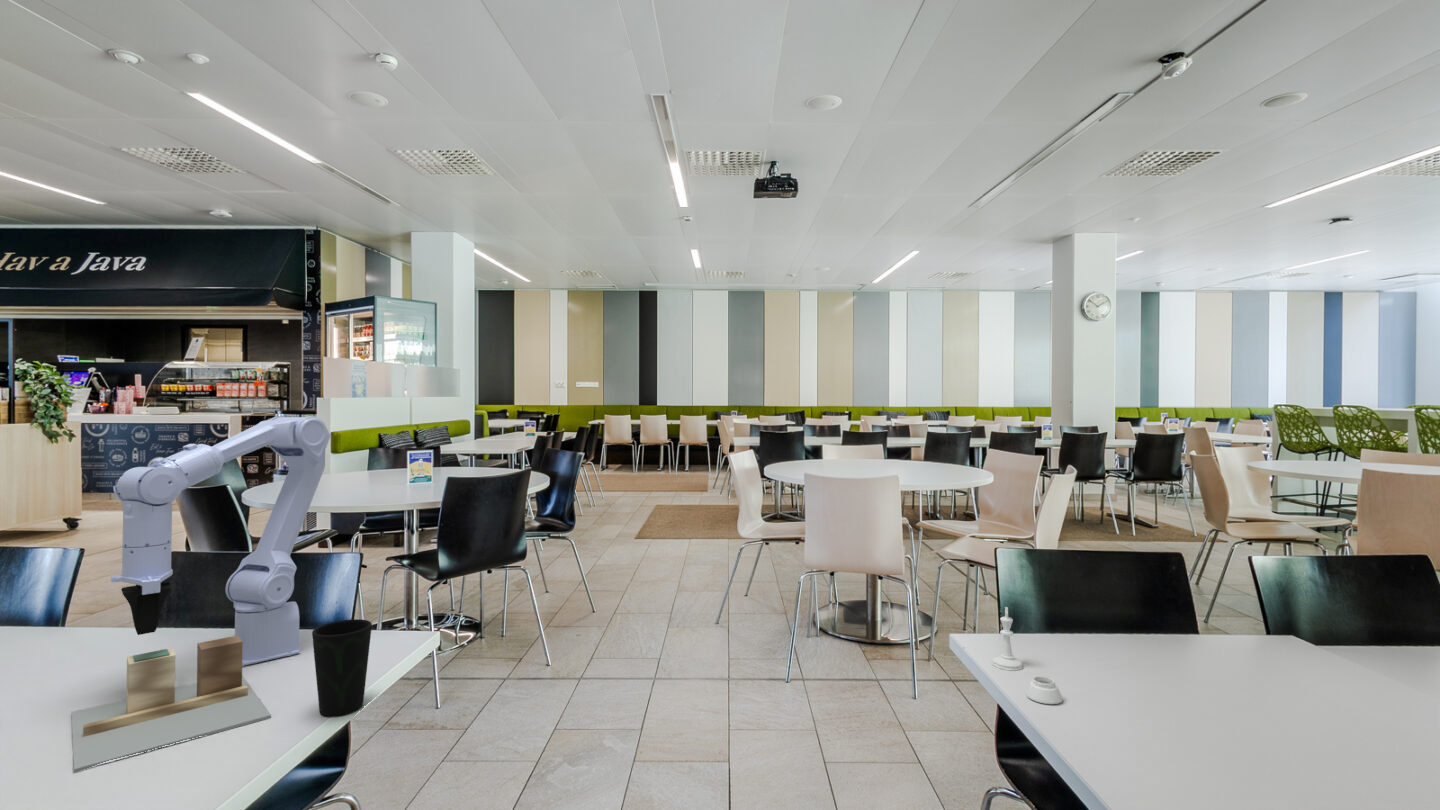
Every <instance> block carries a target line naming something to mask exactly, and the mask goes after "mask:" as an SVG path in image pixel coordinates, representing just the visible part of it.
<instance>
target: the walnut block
mask: <svg viewBox="0 0 1440 810" xmlns="http://www.w3.org/2000/svg"><path fill="white" fill-rule="evenodd" d="M196 645H197V647H196V648H197V649H196V650H197V652H196V653H197V654H196V656H197V657H196V661H197V662H196V664H197V665H196V683H197V697H200V696H204V695H208V694H212V693H216V692H221V691H225V690H229V689H233V688H237V687H241V686H242V675H243V666H242V645H243V641H242V640H241V639H240V638H239V637H238V635H237V636H235V635H234V636H233V635H231V636H227V637H223V638H218V639H211V640H208V641H203V642H197V644H196Z"/></svg>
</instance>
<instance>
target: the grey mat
mask: <svg viewBox="0 0 1440 810" xmlns="http://www.w3.org/2000/svg"><path fill="white" fill-rule="evenodd" d="M245 685H246V686H247V687H248V695H247V696H243V697H239V698H235V699H231V700H227V701H223V702H219V703H215V704H212V705H208V706H204V707H200V708H196V709H192V710H188V711H184V712H180V713H176V714H172V715H168V716H164V717H160V718H156V719H152V720H148V721H144V722H140V723H136V724H132V725H128V726H124V727H120V728H117V729H113V730H109V731H105V732H101V733H97V734H93V735H89V736H85V737H83V725H85V724H89V723H93V722H97V721H101V720H105V719H109V718H114V717H118V716H122V715H126V698H125V699H121V700H117V701H113V702H108V703H103V704H99V705H96V706H95V705H94V706H90V707H86V708H83V709H82V708H81V709H78V710H73V711H71V714H70V715H71V738H72V737H73V739H72V761H73V763H74V764H73V773H78V772H81V770H82V771H85V770H88V769H87V768H89V767H92V766H95V765H97V764H100V763H103V762H106V761H109V760H113V759H117V758H121V757H125V756H129V755H133V754H136V753H141V752H145V751H148V750H152V749H155V748H159V747H162V746H165V745H170V744H173V743H176V742H180V741H183V740H187V739H192V738H196V737H199V736H204V737H206V736H205V735H207V736H210V734H211V735H214V734H218V733H221V732H225V731H229V730H233V729H235V728H238V727H243V726H247V725H250V724H253V723H257V722H260V721H265V720H268V719H271V718H272V714H271V713H270V711H269V710H268V709H267V708H266V706H265V704H264V702H263V701H261V699H260V697H259V696H258V695H257V693H256V691H254V689H253V687H252V686H251V685H250V683H249V682H248V681H247V679H246V678H245V677H244V675H243V674H242V686H245ZM196 697H197V682H195V683H191V684H185V685H181V686H177V687H175V702H179V701H184V700H188V699H192V698H196ZM196 739H197V738H196ZM92 768H93V767H92ZM84 769H85V770H84ZM89 769H90V768H89Z"/></svg>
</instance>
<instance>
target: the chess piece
mask: <svg viewBox="0 0 1440 810" xmlns="http://www.w3.org/2000/svg"><path fill="white" fill-rule="evenodd" d="M999 619H1000V623H1001V625H1002V629H1001V630H1000V631H999V633H1000V635H1003V641H1002V647H1001V648H1002V649H1001V653H999V655H997V656H994V657H992V659H991V660H992V661H991V665H993V667H995V668H998V669H1000V670H1005V671H1011V672H1012V671H1020V670H1022V669H1023V667H1024V666H1023V663H1022V661H1021V660H1020V659H1018V658H1016V657H1015V656H1014V654H1013V652H1012V645H1011V636H1013V635H1014V632H1013V631H1012V630H1010V629H1011V628H1012V624H1013V621H1014V620H1013V618H1012V617H1009V608H1008V606H1004V616H1001V617H1000V618H999Z"/></svg>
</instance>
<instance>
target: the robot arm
mask: <svg viewBox="0 0 1440 810" xmlns="http://www.w3.org/2000/svg"><path fill="white" fill-rule="evenodd" d="M331 436H332V435H331V433H330V432H329V429H328V427H327V425H326V424H325V422H324V421H323V420H322V419H321V418H320V417H317V416H313V415H310V416H301V417H300V416H291V417H290V416H283V415H282V416H280V415H279V416H275V417H272V418H269V419H266V420H262V421H261V420H260V422H259V423H257V424H255V425H253V426H251V427H249V428H247V429H245V430H243V431H241V432H238V433H237V434H235V435H232V436H231V437H228V438H226V439H224V440H222V441H220V442H218V443H216V444H213V446H210V445H208V444H205V443H199V444H196V443H188V444H186V445H183V446H182V449H183V450H181V451H178V452H176V453H174V454H172V455H169V456H167V457H164V458H163V457H158V458H155V459H152V461H151V462H152V463H151V464H150V466H137V467H133V468H130V469H127V470H126V471H125V472H123V473H122V475H121V476H120V477H119V479H118V481H117V484H116V485H113V488H112V489H113V494H114V495H115V496H116V498H117V499H118V500H119V501H120V502H121V504H122V512H123V513H122V547H121V548H122V553H121V554H122V555H121V563H122V564H121V574H116V575H111V579H110V580H111V582H112V583H118V582H122V583H126V584H132V585H129V586H123V587H121V593H122V595H123V597H124V598H125V600H126V601H127V602H128V604H129V607H130V610H131V615H132V616H131V617H132V621H133V626H134V629H135V632H136V634H137V635H138V636H139V635H140V636H141V635H145V634H151V633H155V632H156V631H157V627H158V624H159V620H160V616H161V613H162V609H163V606H164V603H165V602H166V600H167V597H168V595H169V594H170V592H171V591H172V588H173V587H172V585H171V582H170V580H168V578H170V577H172V576H173V574H174V572H173V569H172V536H173V535H172V532H173V531H172V529H173V527H172V525H173V502H174V501H175V500H176V499H178V497H179V496H180V495H181V492H182V491H185V490H186V489H188V488H191V487H193V486H195V485H197V484H198V483H202V482H203V481H205V480H208V479H209V478H212V477H213V476H216V475H219V474H220V472H221V471H222V469H223V465H224V463H227V462H230V461H232V460H235V459H237V458H239V457H242V456H244V455H247V454H250V453H253V452H255V451H257V450H259V449H262V448H264V447H266V446H268V447H269V448H270V449H271V450H272V451H273V452H274V453H275V454H276V455H278V456H279V457H280V458H281V459H282V460H283V461H284V462H285V464H286V466H287V467H288V472H287V473H286V476H285V479H284V482H283V484H282V486H281V489H280V491H279V493H278V496H277V498H276V500H275V503H274V504H273V508H272V510H271V513H270V515H269V517H268V518H267V519H268V520H267V522H266V525H265V527H264V529H263V532H262V534H261V536H260V539H259V541H258V543H257V546H256V548H255V549H254V551H252V552H251V553H249V554H248V555H247V556H246V557H243V558H242V560H241V561H240V563H239V566H238V567H237V569H236V570H235V571H233V573H232V574H231V575H230V576H229V578H228V579H227V582H226V584H225V594H226V597H227V598H228V600H230V602H233V609H234V610H235V612H234V636H237V635H238V637H239V638H240V639H241V640H242V641H243V645H242V667H245V666H249V665H253V664H257V663H261V662H267V661H270V660H275V659H280V658H285V657H289V656H294V655H297V654H300V652H301V650H300V609H299V605H298V604H297V602H296V601H288V600H289V599H290V598H291V596H292V595H293V592H294V589H295V574H296V571H297V569H298V568H297V565H296V564H295V562H294V561H293V559H292V557H291V554H292V551H293V549H294V546H295V545H296V542H297V539H298V536H299V534H300V532H301V529H302V528H303V524H304V521H305V518H306V517H307V514H308V511H309V509H310V506H311V503H312V501H313V498H314V496H315V493H316V491H317V489H318V487H319V483H320V481H321V478H322V476H323V474H324V470H325V467H326V449H327V447H328V443H329V441H330V438H331ZM287 601H288V602H287Z"/></svg>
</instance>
